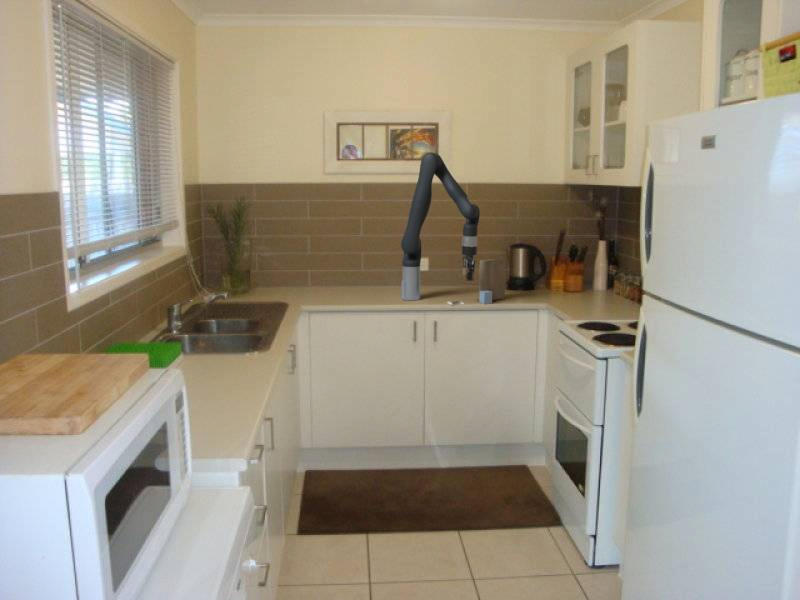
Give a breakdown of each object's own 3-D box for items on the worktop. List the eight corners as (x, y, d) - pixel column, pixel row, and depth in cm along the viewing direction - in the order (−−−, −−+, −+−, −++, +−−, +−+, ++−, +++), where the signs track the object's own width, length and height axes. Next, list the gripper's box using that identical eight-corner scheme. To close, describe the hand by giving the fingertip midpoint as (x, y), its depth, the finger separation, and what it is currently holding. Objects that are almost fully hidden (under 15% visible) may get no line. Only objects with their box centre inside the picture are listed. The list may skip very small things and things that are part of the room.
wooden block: (505, 299, 364) (506, 260, 361) (490, 301, 359) (491, 262, 355) (493, 296, 373) (493, 258, 369) (478, 298, 368) (478, 259, 364)
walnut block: (465, 280, 351) (465, 269, 349) (462, 279, 355) (463, 267, 354) (473, 280, 351) (474, 268, 350) (471, 279, 356) (471, 267, 355)
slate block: (484, 304, 351) (484, 292, 350) (479, 302, 355) (479, 291, 354) (491, 303, 353) (492, 291, 352) (486, 302, 357) (487, 290, 356)
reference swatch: (450, 305, 349) (450, 303, 349) (447, 302, 356) (447, 301, 356) (464, 304, 350) (464, 303, 350) (460, 301, 357) (460, 300, 357)
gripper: (458, 243, 356) (457, 276, 359) (466, 246, 342) (465, 281, 345) (472, 243, 357) (471, 276, 361) (481, 246, 344) (479, 281, 347)
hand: (468, 278), depth 353 cm, fingers closed on walnut block, 4 cm apart
